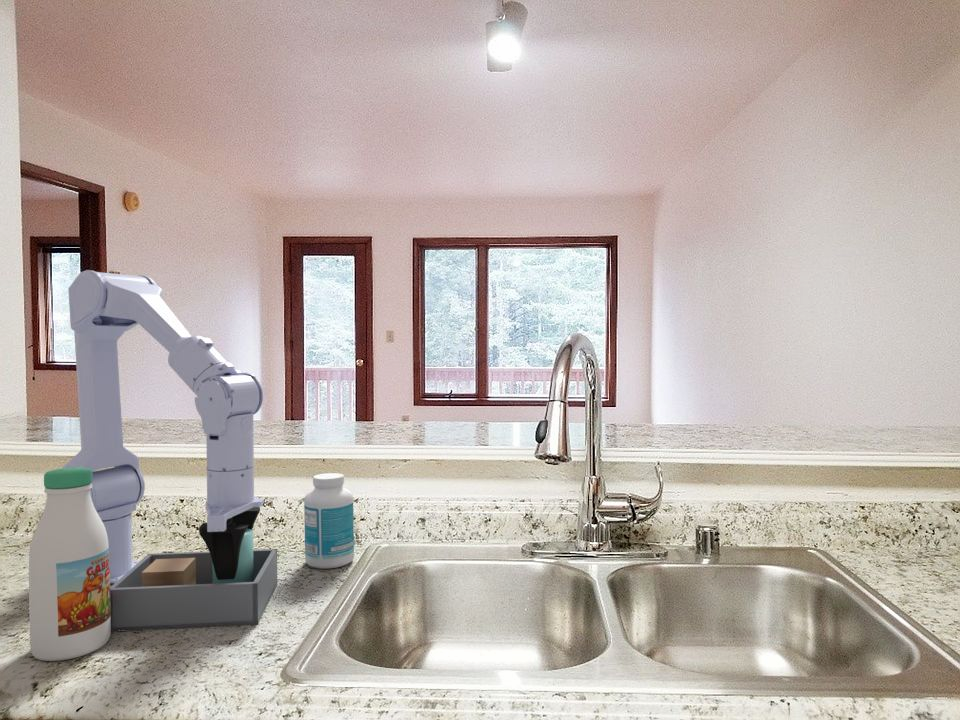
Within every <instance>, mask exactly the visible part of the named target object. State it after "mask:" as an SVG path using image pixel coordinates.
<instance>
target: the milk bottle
mask: <svg viewBox="0 0 960 720" xmlns="http://www.w3.org/2000/svg"><path fill="white" fill-rule="evenodd" d="M62 468H63V467H62ZM62 468H57V469H52V470H49V471H47V472H45V473H44V475H43V486H44V489H43V490H44V491H43V492H44V494H46V501H45V505H44V510H43V512H42V515H41V517H40V519H39V521H38V523H37V525H36V528H35V529H34V532H33V534H32V537H31V541H30V544H29V545H30V546H29V552H28V555H29V556H28V603H29V604H28V605H29V606H28V607H29V608H28V609H29V610H28V611H29V644H30V645H29V646H30V653H31V655H32V657H33V658H35V659H36V660H38V661H39V660H40V661H46V662H56V661H59V662H60V661H66V660H72V659H76V658H79V657H82V656H85V655H88V654H91V653H94V652H95V651H97V650H99V649H101V648H103V646H105V645H106V644H107V643H108V641H109V639H110V637H111V634H112V633H111V609H110V587H111V583H110V565H109V545H108V537H107V532H106V529H105V526H104V524H103V522H102V520H101V518H100V517H99V515H98V513H97V511H96V509H95V507H94V505H93V502H92V499H91V495H90V489H91V488H92V487H93V486H92V470H91V469H89V468H83V467H74V468H63V469H62Z"/></svg>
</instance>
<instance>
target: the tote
mask: <svg viewBox="0 0 960 720" xmlns="http://www.w3.org/2000/svg"><path fill="white" fill-rule="evenodd" d="M174 558H196V584H195V585H172V586H149V587H142V572H143V571H144V570H145V569H146V568H147V567H148V566H149V565H150V564H151V563H153V562H154V561H155V560H156V559H174ZM139 561H140V562H138V563H137V564H136V565H135V566H134V567H133V568H132V569H130V570H129V571H128V572H127V573H126V574H125V575H124V576H122V577H121V578H120V579H119V580H118V581H117V582H116V583H112V585H110V609H111V631H115V632H122V631H121V630H134V631H143V630H142V629H154V630H170V629H169V628H173V629H188V628H189V627H190V628H191V627H193V628H209V627H208V626H213V627H227V626H228V627H229V626H231V627H232V626H248V625H249V626H250V625H251V626H253V625H259V622H260V621H261V619H262V617H263V615H264V613H265V610H266V608H267V606H268V604H269V603H270V600H271V599H272V597H273V594H274V592H275V590H276V588H277V585H278V549H277V548H270V549H269V548H267V549H266V548H264V549H262V548H261V549H253V581H254V582H241V583H218V584H213V572H212V558H211V555H210V552H209V550H208V551H187V552H186V551H185V552H160V553H159V552H157V553H156V552H154V553H148V554H146V555H145V556H144V557H143V558H142V559H141V560H139ZM167 628H168V629H167ZM190 628H189V629H190ZM119 630H120V631H119Z"/></svg>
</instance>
